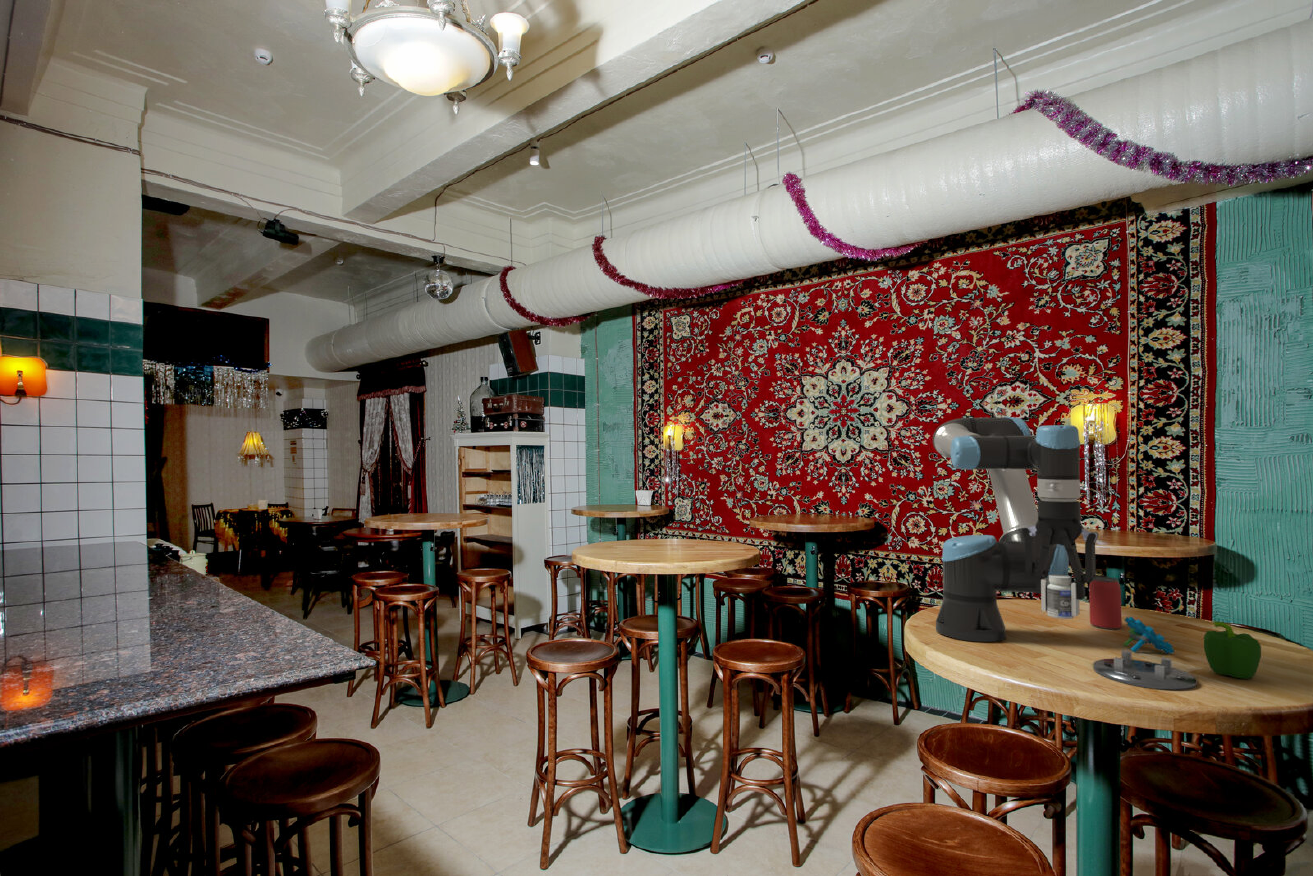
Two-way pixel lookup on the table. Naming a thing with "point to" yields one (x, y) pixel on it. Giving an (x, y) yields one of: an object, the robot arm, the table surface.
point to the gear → (1145, 636)
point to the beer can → (1105, 603)
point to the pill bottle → (1059, 597)
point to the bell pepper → (1232, 652)
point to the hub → (1145, 673)
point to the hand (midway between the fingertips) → (1060, 612)
